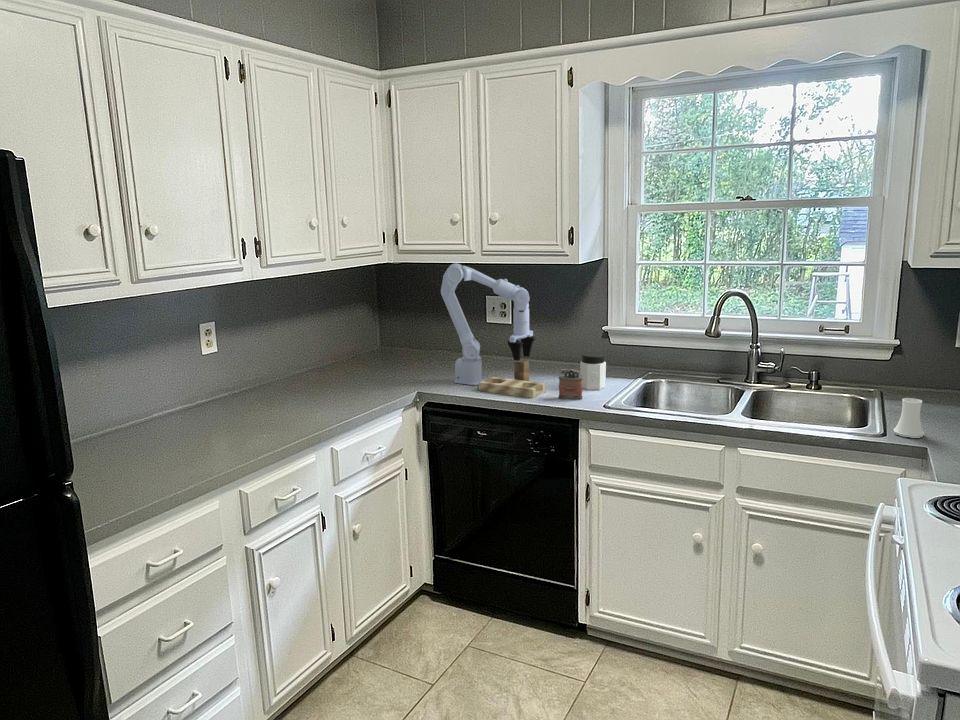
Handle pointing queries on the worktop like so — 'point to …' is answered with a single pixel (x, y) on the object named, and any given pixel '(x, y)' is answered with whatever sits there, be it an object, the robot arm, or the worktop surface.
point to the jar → (593, 370)
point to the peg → (521, 370)
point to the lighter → (570, 385)
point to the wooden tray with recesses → (512, 387)
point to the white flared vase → (910, 418)
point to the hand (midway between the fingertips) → (521, 358)
